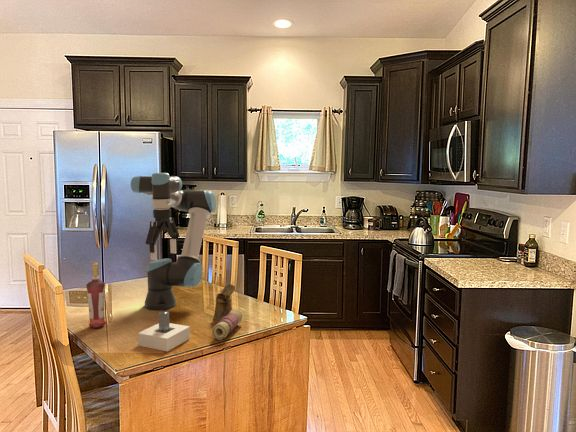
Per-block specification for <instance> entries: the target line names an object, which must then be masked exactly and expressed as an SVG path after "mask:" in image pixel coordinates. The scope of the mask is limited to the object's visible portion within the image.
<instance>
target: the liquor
mask: <svg viewBox="0 0 576 432" xmlns="http://www.w3.org/2000/svg"><path fill="white" fill-rule="evenodd" d="M91 269H92V271H91V273H92V274H91V281H89V282H88V283H87V284H86V293H87V294H86V295H87V304H88V316H89V317H88V318H89V323H88V326H89V327H90V328H92V329H101V328H103V327H104V326H105V325H106V324H107V321H106V319H105V318H106V317H105V316H106V315H105V314H106V312H105V309H106V306H105V301H106V300H105V299H106V282H104V281H102V280H101V279H100V274H99V262H91Z"/></svg>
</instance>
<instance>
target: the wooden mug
mask: <svg viewBox="0 0 576 432" xmlns="http://www.w3.org/2000/svg"><path fill="white" fill-rule="evenodd" d="M235 289H236V286H235V285H233V284H228V285H226V286H224V287H223V288H222V289H221V292H219V293H217V294H216V297H215V305H214V306H215V308H214V313H213V314H214V315H213V317H212V318H213V320H214V321H215V322H219V321H220V319H222V318H223V317H224V316H227V315H228V314H229V313H230V312H231V310H233V308H232V297H231V295H232V294H233V293H234V292H235Z"/></svg>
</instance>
